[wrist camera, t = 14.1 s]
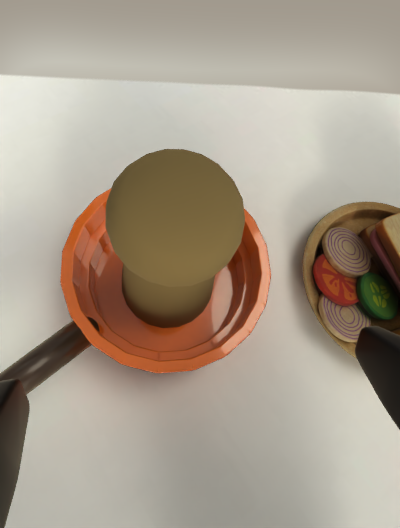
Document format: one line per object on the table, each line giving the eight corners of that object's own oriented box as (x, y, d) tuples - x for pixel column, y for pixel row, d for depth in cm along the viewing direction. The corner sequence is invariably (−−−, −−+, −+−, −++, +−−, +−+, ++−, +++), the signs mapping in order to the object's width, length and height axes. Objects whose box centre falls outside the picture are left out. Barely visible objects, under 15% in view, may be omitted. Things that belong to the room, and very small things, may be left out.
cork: (130, 338, 19) (98, 303, 9) (114, 248, 21) (72, 129, 10) (223, 316, 20) (292, 263, 10) (201, 232, 22) (240, 113, 12)
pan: (152, 413, 19) (151, 425, 15) (42, 267, 20) (17, 244, 17) (283, 294, 22) (310, 279, 18) (180, 178, 24) (184, 143, 20)
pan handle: (-67, 469, 14) (-93, 481, 13) (-84, 440, 15) (-111, 448, 13) (107, 334, 17) (102, 331, 16) (90, 312, 18) (84, 307, 16)
